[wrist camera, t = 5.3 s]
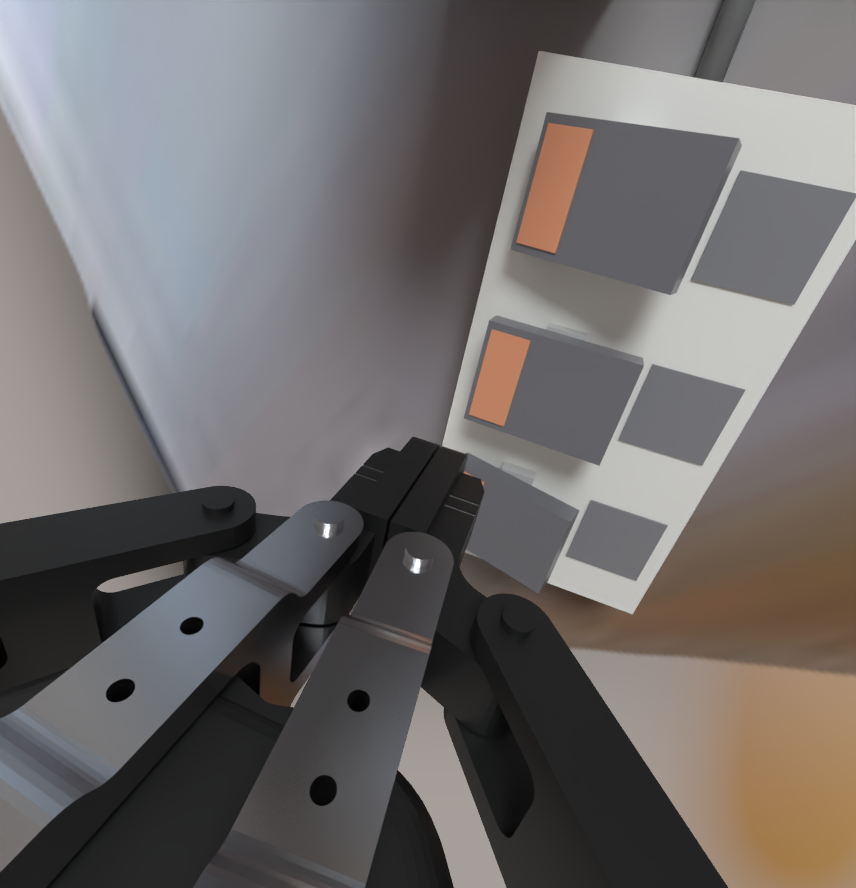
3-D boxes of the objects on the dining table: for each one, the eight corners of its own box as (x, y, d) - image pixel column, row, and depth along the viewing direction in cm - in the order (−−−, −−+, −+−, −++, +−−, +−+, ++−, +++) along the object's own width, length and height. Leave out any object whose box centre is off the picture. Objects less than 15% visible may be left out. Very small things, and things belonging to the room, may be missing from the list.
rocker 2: (643, 357, 18) (644, 366, 17) (600, 453, 20) (599, 466, 19) (496, 315, 20) (488, 320, 19) (471, 409, 22) (462, 418, 21)
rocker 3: (579, 510, 21) (569, 522, 20) (548, 580, 23) (537, 595, 22) (467, 452, 24) (453, 460, 23) (448, 520, 26) (435, 530, 25)
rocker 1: (742, 145, 14) (738, 138, 13) (676, 293, 16) (669, 295, 15) (559, 119, 17) (545, 111, 16) (523, 249, 19) (509, 249, 18)
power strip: (998, -112, 14) (1155, -238, 10) (627, 565, 28) (633, 624, 24) (606, -149, 17) (611, -267, 12) (439, 499, 30) (415, 543, 26)
